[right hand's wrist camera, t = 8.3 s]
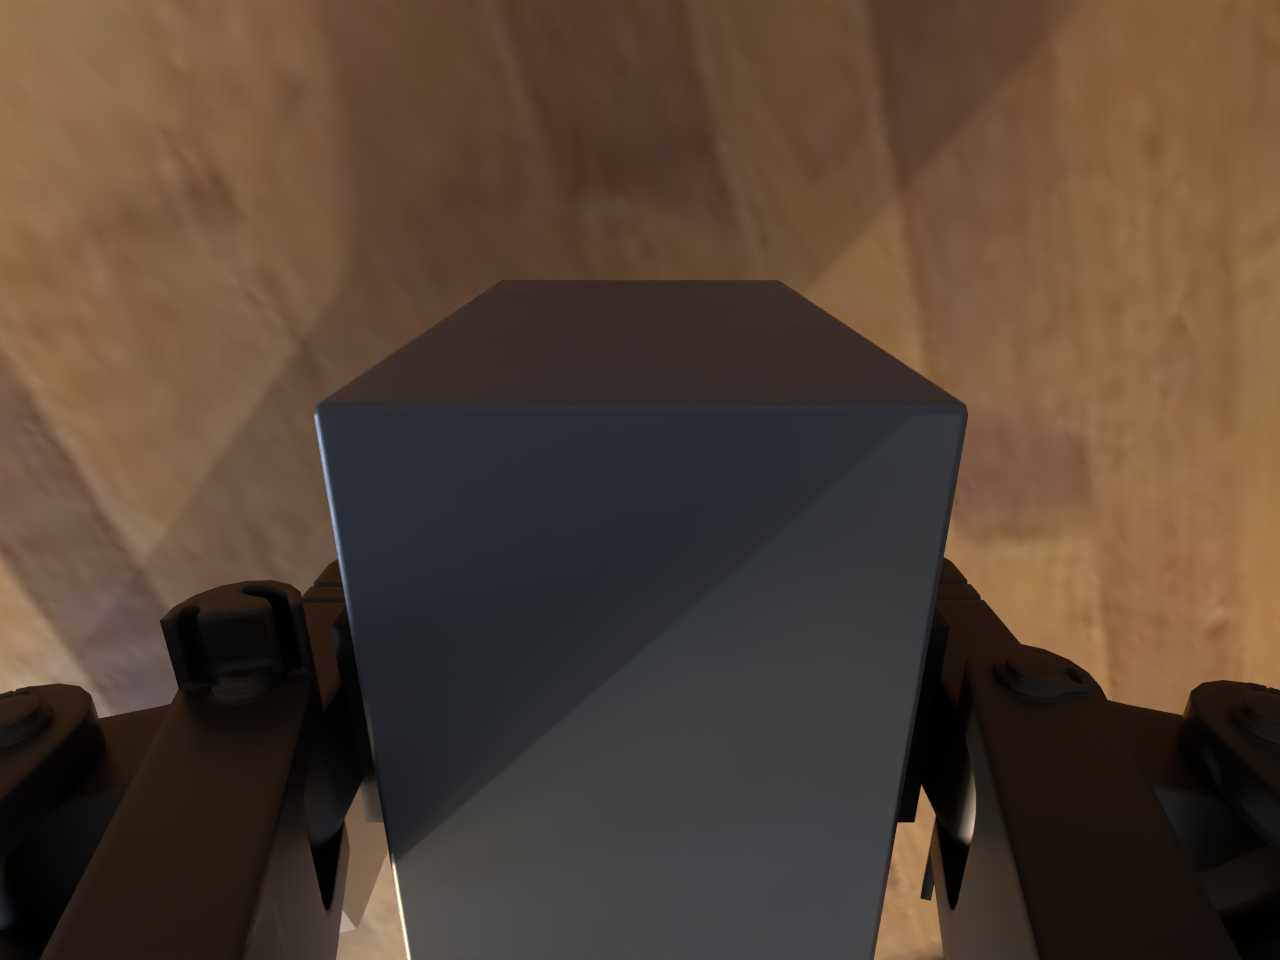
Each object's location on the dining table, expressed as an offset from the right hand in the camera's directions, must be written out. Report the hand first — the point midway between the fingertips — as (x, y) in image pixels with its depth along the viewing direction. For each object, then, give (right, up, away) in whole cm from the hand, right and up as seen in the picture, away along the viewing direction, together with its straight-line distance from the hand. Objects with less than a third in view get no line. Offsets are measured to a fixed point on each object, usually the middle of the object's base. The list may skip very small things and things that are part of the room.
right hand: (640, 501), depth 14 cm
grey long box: (0, -8, +4) cm, 9 cm away
